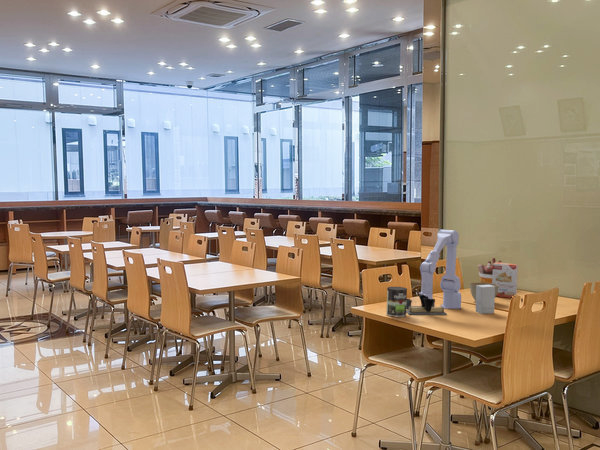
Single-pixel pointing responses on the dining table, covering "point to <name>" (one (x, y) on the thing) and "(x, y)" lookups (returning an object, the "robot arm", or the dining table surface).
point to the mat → (425, 313)
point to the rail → (423, 309)
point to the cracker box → (505, 279)
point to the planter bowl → (473, 285)
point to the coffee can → (396, 301)
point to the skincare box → (485, 299)
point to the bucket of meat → (486, 272)
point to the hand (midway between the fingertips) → (426, 310)
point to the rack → (408, 303)
